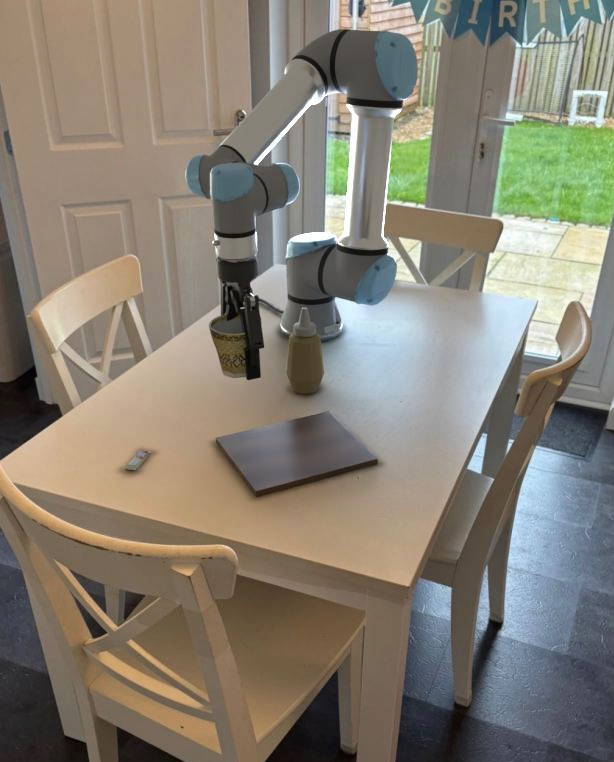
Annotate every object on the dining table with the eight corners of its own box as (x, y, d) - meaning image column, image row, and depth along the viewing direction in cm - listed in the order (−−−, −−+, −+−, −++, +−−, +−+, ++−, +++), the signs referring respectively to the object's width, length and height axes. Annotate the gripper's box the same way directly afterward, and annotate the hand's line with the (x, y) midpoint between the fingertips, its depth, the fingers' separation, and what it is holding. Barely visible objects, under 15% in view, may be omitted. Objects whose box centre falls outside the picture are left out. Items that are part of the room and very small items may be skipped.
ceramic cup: (243, 387, 149) (240, 338, 143) (202, 374, 154) (198, 326, 148) (282, 361, 158) (280, 314, 152) (242, 349, 163) (239, 304, 157)
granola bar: (135, 473, 141) (135, 468, 140) (124, 471, 141) (123, 466, 141) (152, 454, 146) (151, 449, 145) (141, 452, 146) (140, 447, 146)
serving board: (215, 443, 149) (215, 437, 148) (328, 416, 158) (328, 410, 157) (256, 497, 134) (255, 491, 133) (377, 464, 143) (378, 458, 142)
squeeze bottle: (330, 384, 169) (331, 304, 159) (314, 400, 163) (314, 318, 153) (296, 377, 172) (295, 298, 162) (279, 392, 166) (277, 311, 156)
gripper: (197, 242, 149) (207, 350, 162) (239, 278, 133) (247, 395, 146) (234, 236, 152) (241, 343, 164) (279, 271, 135) (283, 387, 148)
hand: (244, 368), depth 155 cm, fingers closed on ceramic cup, 9 cm apart
